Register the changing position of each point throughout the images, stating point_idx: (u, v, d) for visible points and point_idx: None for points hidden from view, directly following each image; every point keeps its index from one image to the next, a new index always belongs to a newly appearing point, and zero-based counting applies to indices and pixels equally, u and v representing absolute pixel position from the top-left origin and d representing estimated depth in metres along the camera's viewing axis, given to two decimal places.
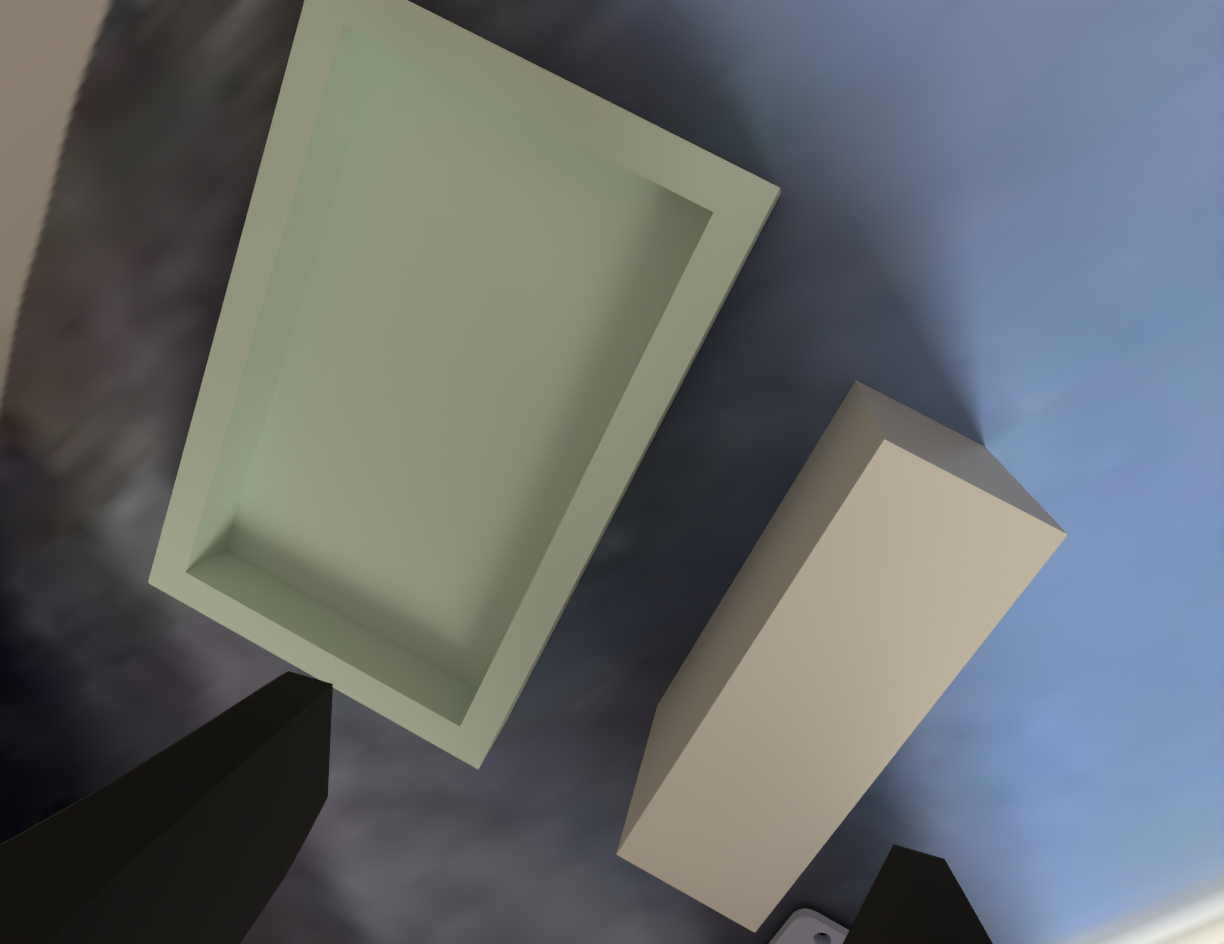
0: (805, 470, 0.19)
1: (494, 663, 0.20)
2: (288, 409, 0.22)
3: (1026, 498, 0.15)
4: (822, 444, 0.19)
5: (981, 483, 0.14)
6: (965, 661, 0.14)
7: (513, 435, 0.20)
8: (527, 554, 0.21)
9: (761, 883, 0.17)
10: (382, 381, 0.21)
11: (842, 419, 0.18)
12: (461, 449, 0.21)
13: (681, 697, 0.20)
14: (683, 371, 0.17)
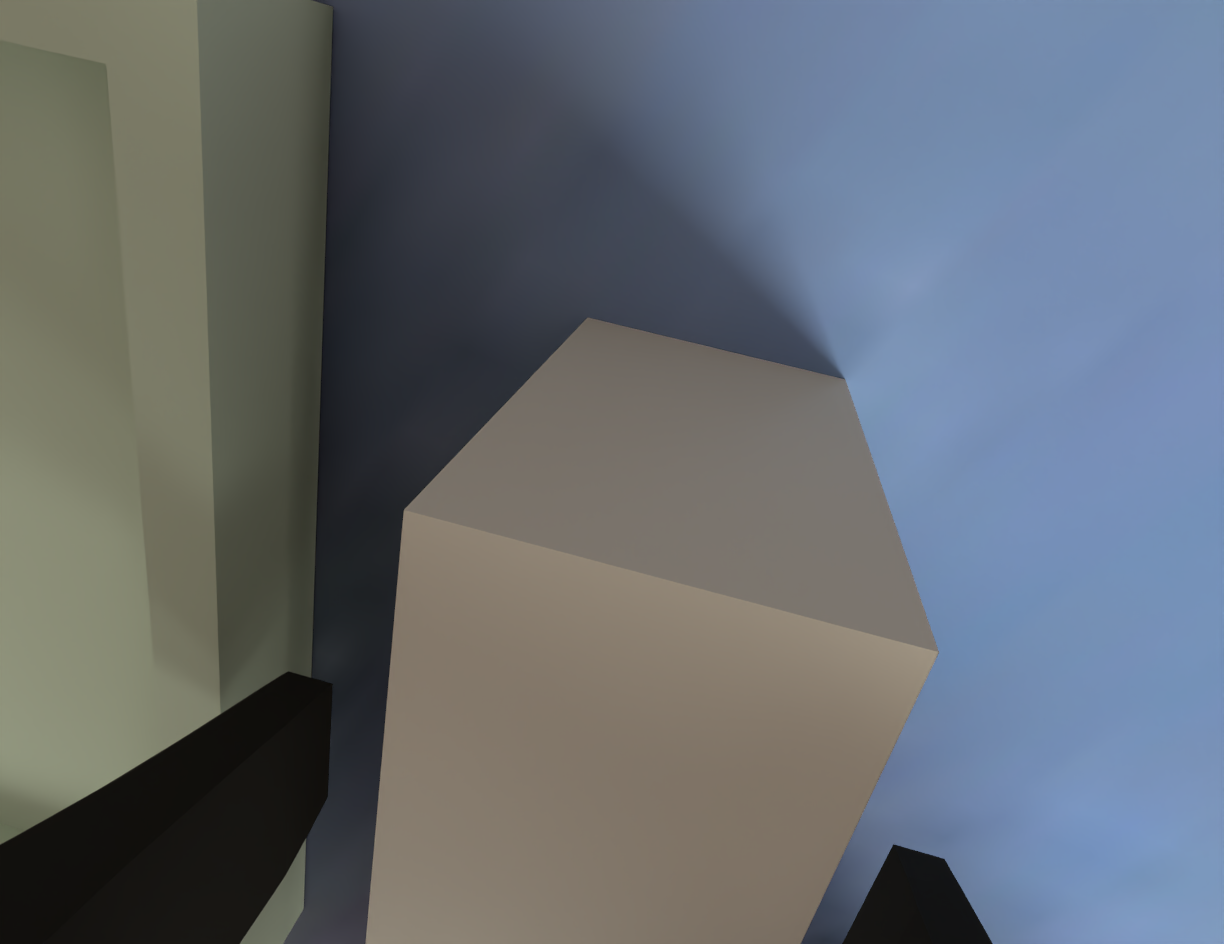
0: None
1: None
2: None
3: (861, 528, 0.06)
4: None
5: (708, 546, 0.05)
6: None
7: (96, 542, 0.12)
8: None
9: None
10: None
11: None
12: (40, 579, 0.13)
13: None
14: (210, 394, 0.09)
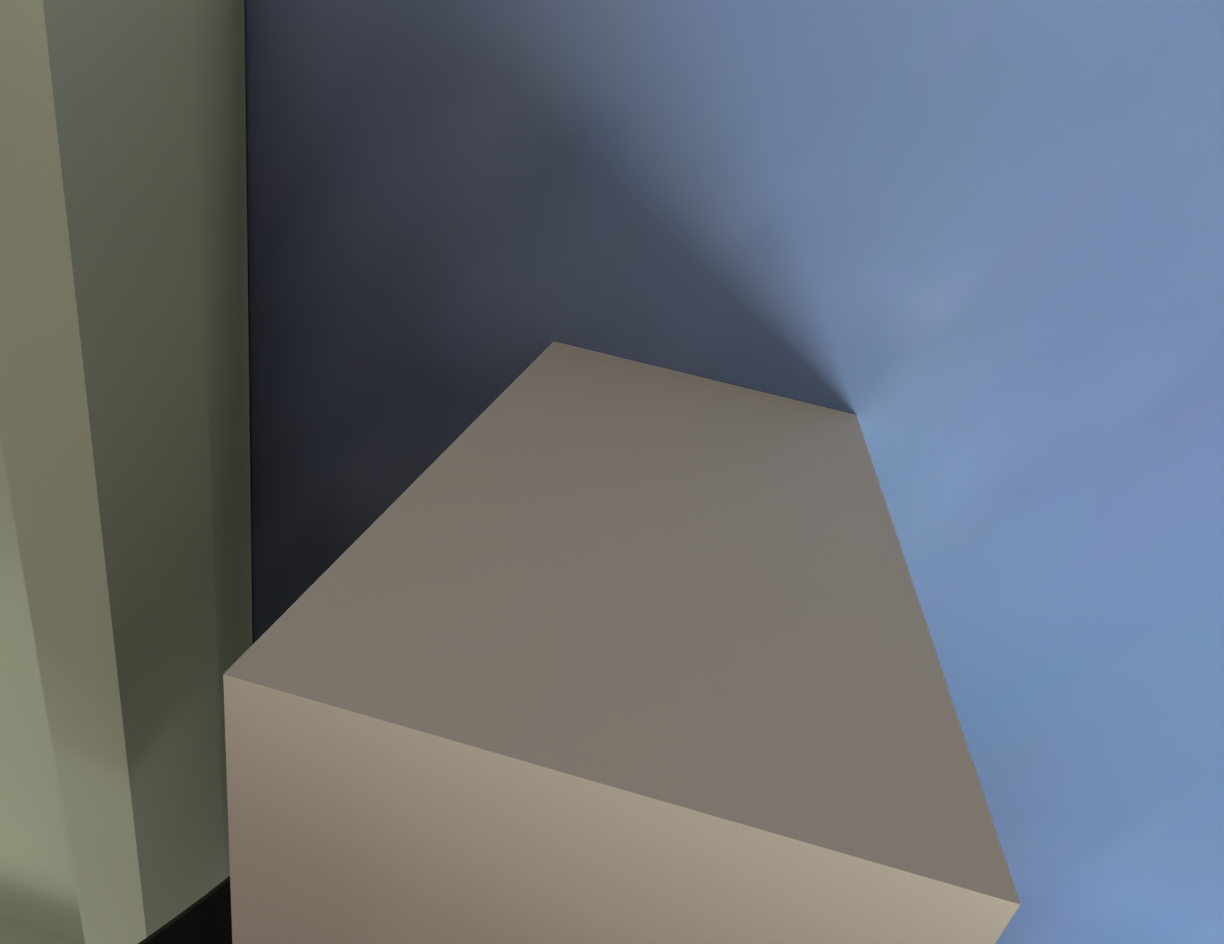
0: None
1: None
2: None
3: (890, 658, 0.04)
4: None
5: (676, 710, 0.04)
6: None
7: (0, 594, 0.11)
8: None
9: None
10: None
11: None
12: None
13: None
14: (92, 440, 0.07)
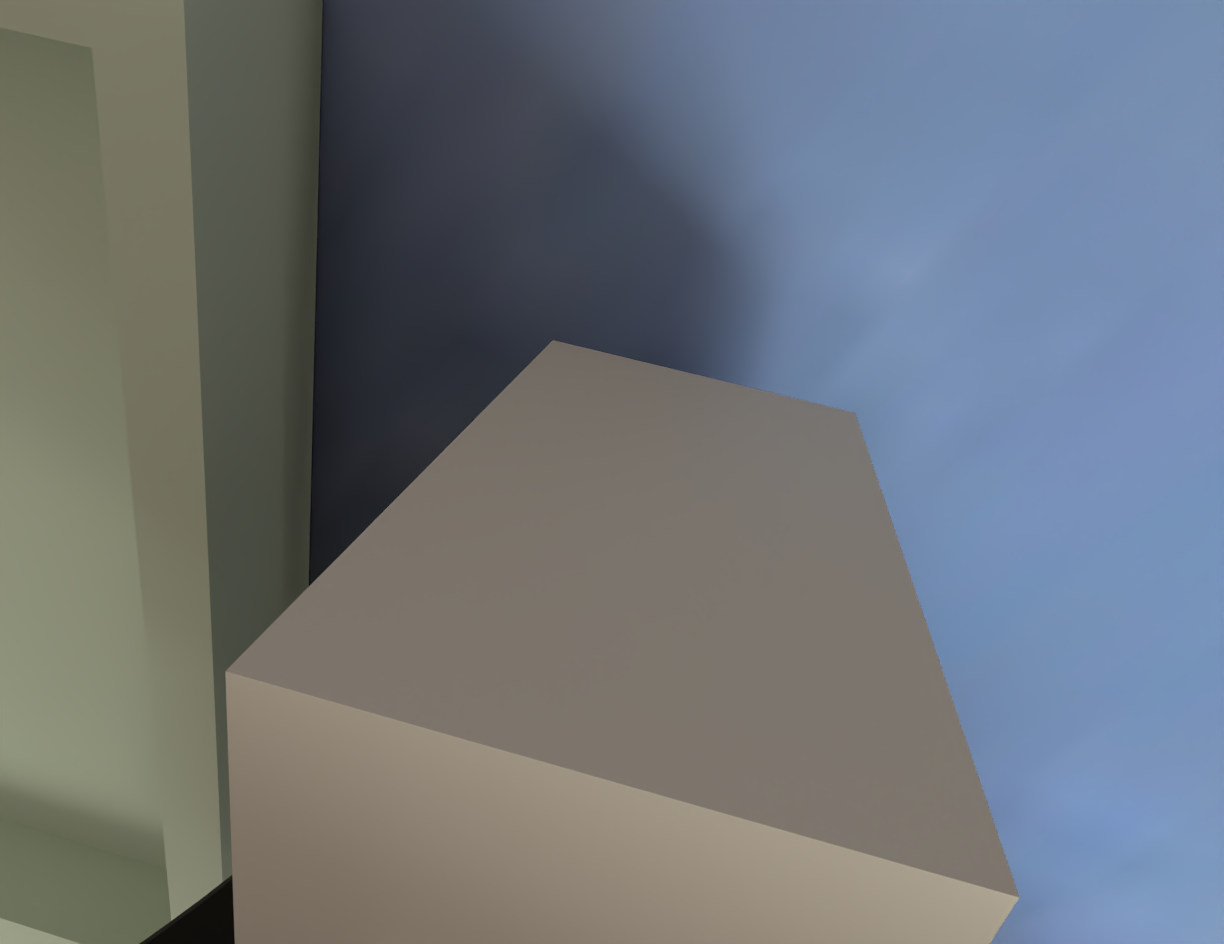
0: None
1: (172, 889, 0.13)
2: None
3: (890, 655, 0.04)
4: None
5: (677, 707, 0.04)
6: None
7: (89, 535, 0.12)
8: None
9: None
10: None
11: None
12: (33, 572, 0.13)
13: None
14: (201, 384, 0.09)
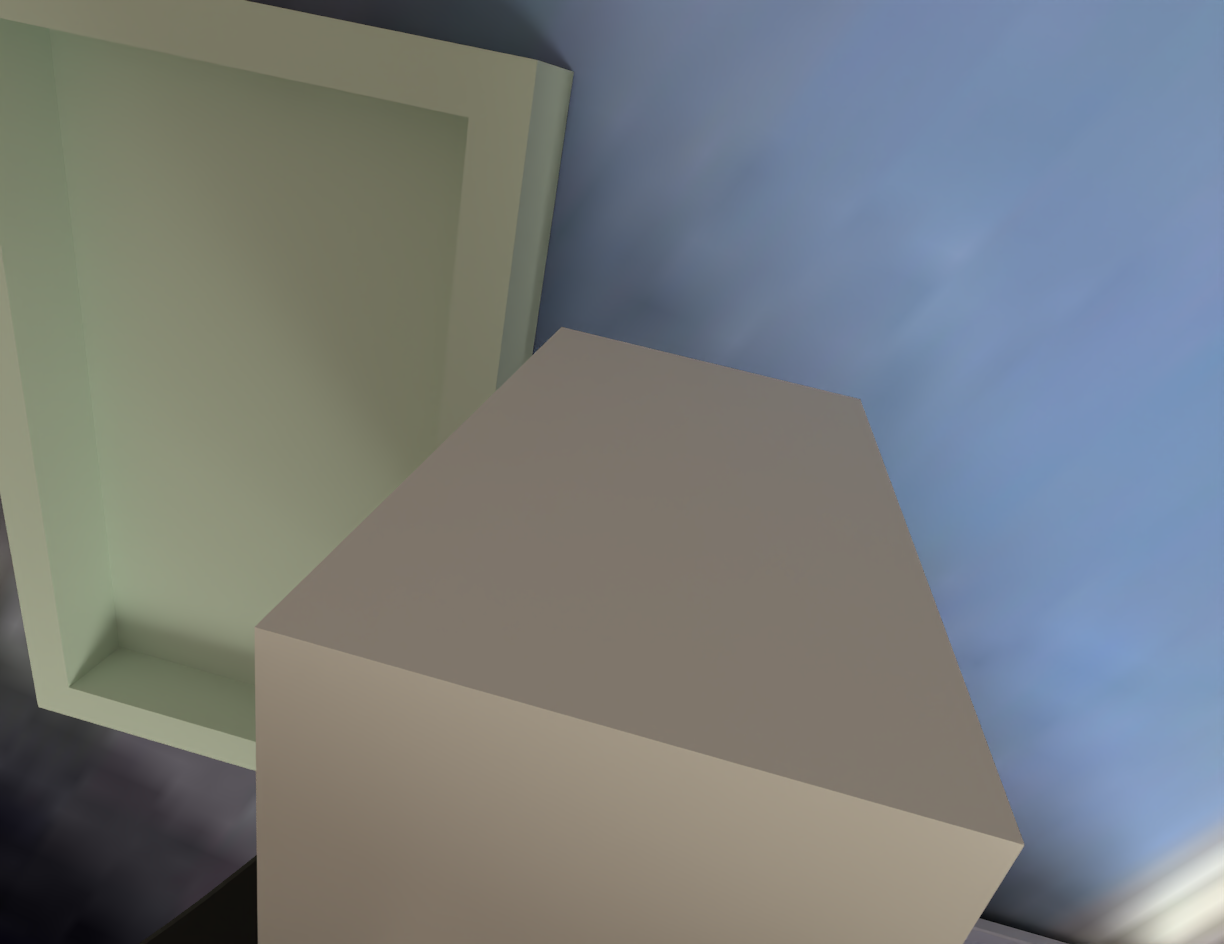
0: None
1: None
2: (120, 482, 0.19)
3: (896, 623, 0.05)
4: None
5: (691, 667, 0.04)
6: None
7: (362, 450, 0.17)
8: None
9: None
10: (203, 425, 0.18)
11: None
12: (313, 480, 0.18)
13: None
14: (502, 328, 0.14)
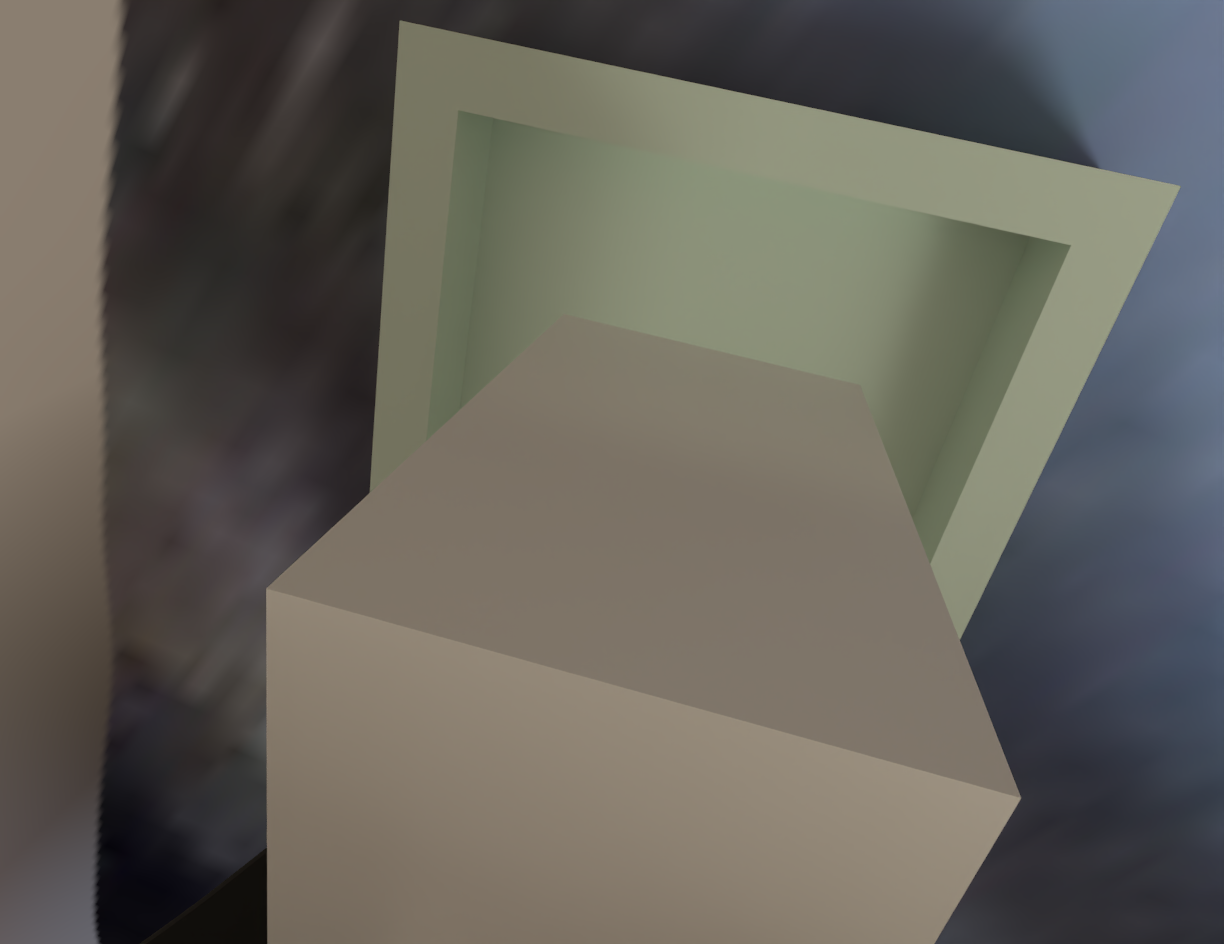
0: None
1: None
2: None
3: (896, 593, 0.05)
4: None
5: (694, 630, 0.04)
6: None
7: None
8: None
9: None
10: None
11: None
12: None
13: None
14: (1039, 469, 0.12)
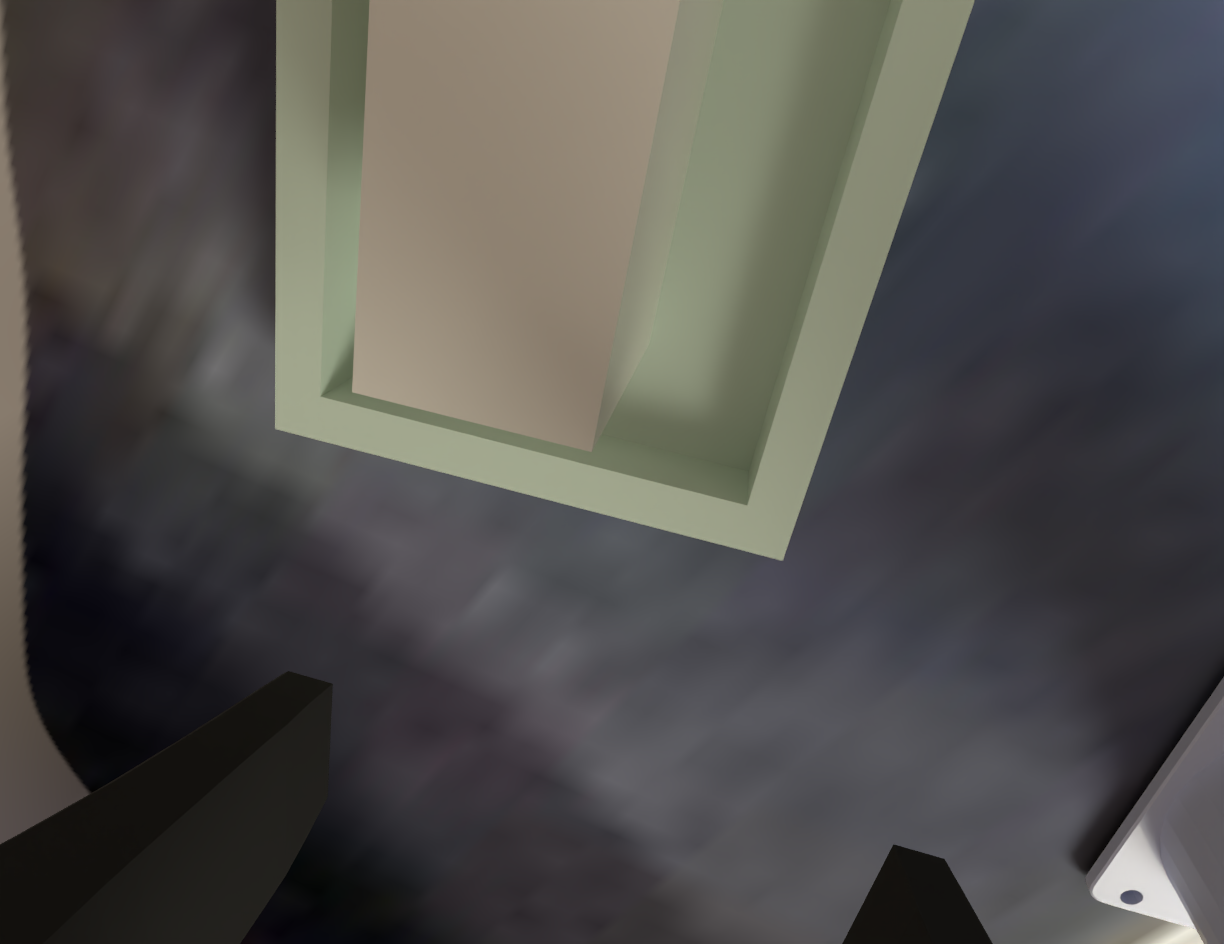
0: None
1: (786, 393, 0.14)
2: None
3: None
4: None
5: None
6: None
7: (737, 50, 0.14)
8: (785, 239, 0.15)
9: (568, 354, 0.10)
10: None
11: None
12: None
13: None
14: None
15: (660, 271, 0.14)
